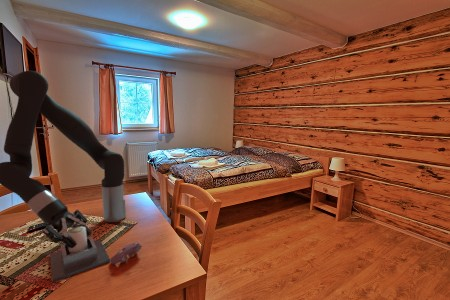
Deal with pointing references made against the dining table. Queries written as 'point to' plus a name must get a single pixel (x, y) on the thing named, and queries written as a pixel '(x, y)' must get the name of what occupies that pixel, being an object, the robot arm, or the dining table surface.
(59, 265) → the roll holder
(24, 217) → the dining table surface
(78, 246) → the paper roll
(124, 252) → the video game controller
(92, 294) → the dining table surface
